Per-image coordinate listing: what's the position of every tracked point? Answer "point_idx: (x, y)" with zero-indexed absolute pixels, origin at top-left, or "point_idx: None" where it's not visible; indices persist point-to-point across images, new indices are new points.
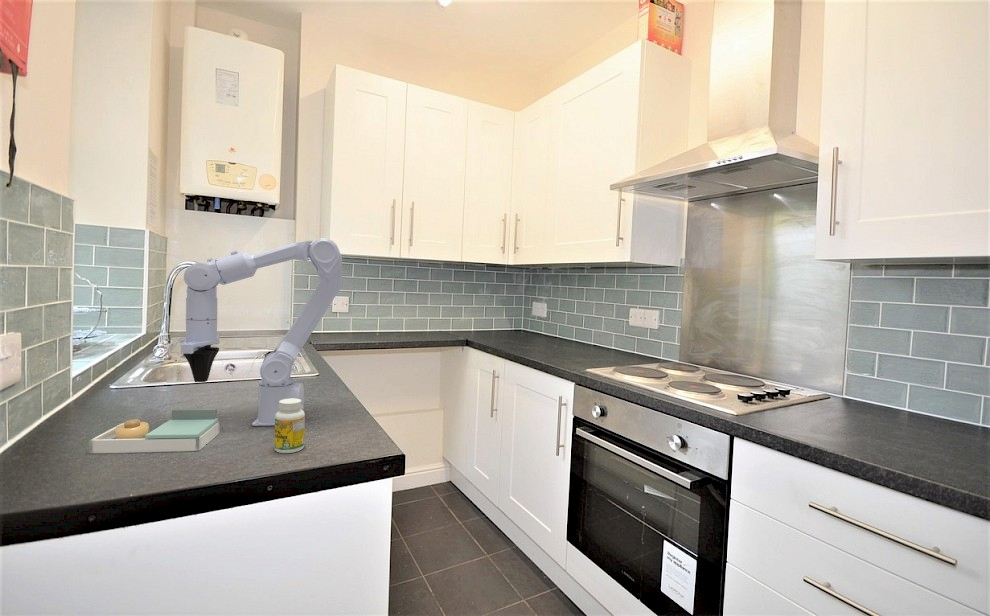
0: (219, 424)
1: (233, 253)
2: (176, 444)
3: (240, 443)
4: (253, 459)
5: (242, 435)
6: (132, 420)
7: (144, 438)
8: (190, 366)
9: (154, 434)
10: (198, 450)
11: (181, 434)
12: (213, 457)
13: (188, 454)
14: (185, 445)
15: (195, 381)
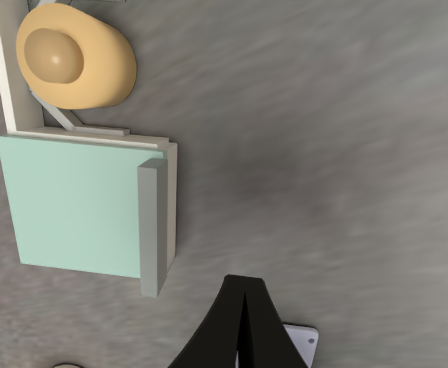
0: (167, 271)
1: None
2: None
3: (102, 307)
4: (19, 336)
5: (156, 304)
6: (54, 54)
7: (15, 129)
8: (185, 347)
9: (6, 159)
10: None
11: (16, 227)
12: (21, 274)
13: None
14: None
15: (225, 279)
